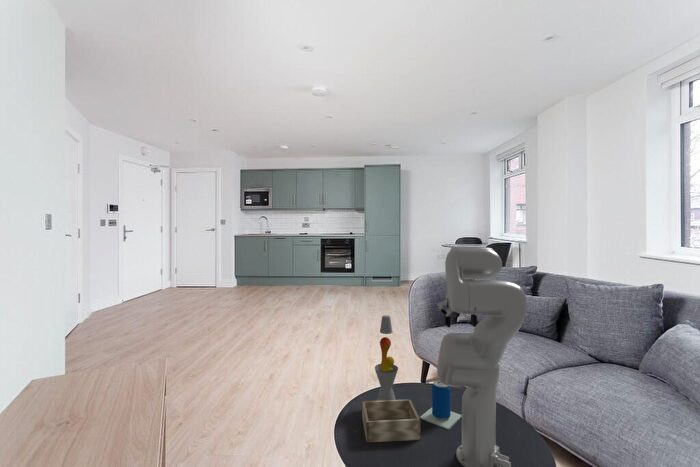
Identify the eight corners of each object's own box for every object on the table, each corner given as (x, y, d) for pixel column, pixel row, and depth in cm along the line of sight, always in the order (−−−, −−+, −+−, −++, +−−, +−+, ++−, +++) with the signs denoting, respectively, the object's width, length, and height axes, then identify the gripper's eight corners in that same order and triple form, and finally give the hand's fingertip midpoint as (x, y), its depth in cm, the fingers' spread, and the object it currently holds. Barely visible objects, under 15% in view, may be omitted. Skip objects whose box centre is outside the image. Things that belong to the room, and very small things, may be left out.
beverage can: (448, 411, 129) (448, 379, 129) (452, 421, 123) (452, 387, 122) (431, 411, 130) (430, 379, 129) (433, 420, 123) (433, 387, 123)
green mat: (461, 416, 127) (461, 415, 127) (448, 429, 118) (448, 428, 118) (434, 406, 134) (434, 405, 134) (419, 418, 126) (419, 417, 126)
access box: (410, 417, 127) (410, 399, 126) (420, 439, 113) (420, 419, 113) (362, 419, 125) (362, 401, 125) (366, 442, 112) (366, 422, 112)
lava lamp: (381, 414, 128) (381, 320, 128) (370, 403, 137) (370, 314, 136) (402, 409, 132) (402, 317, 131) (390, 398, 140) (390, 312, 140)
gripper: (478, 278, 133) (478, 322, 133) (434, 279, 132) (434, 323, 132) (488, 281, 126) (488, 328, 126) (441, 282, 124) (441, 329, 125)
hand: (460, 326), depth 129 cm, fingers open, 9 cm apart
